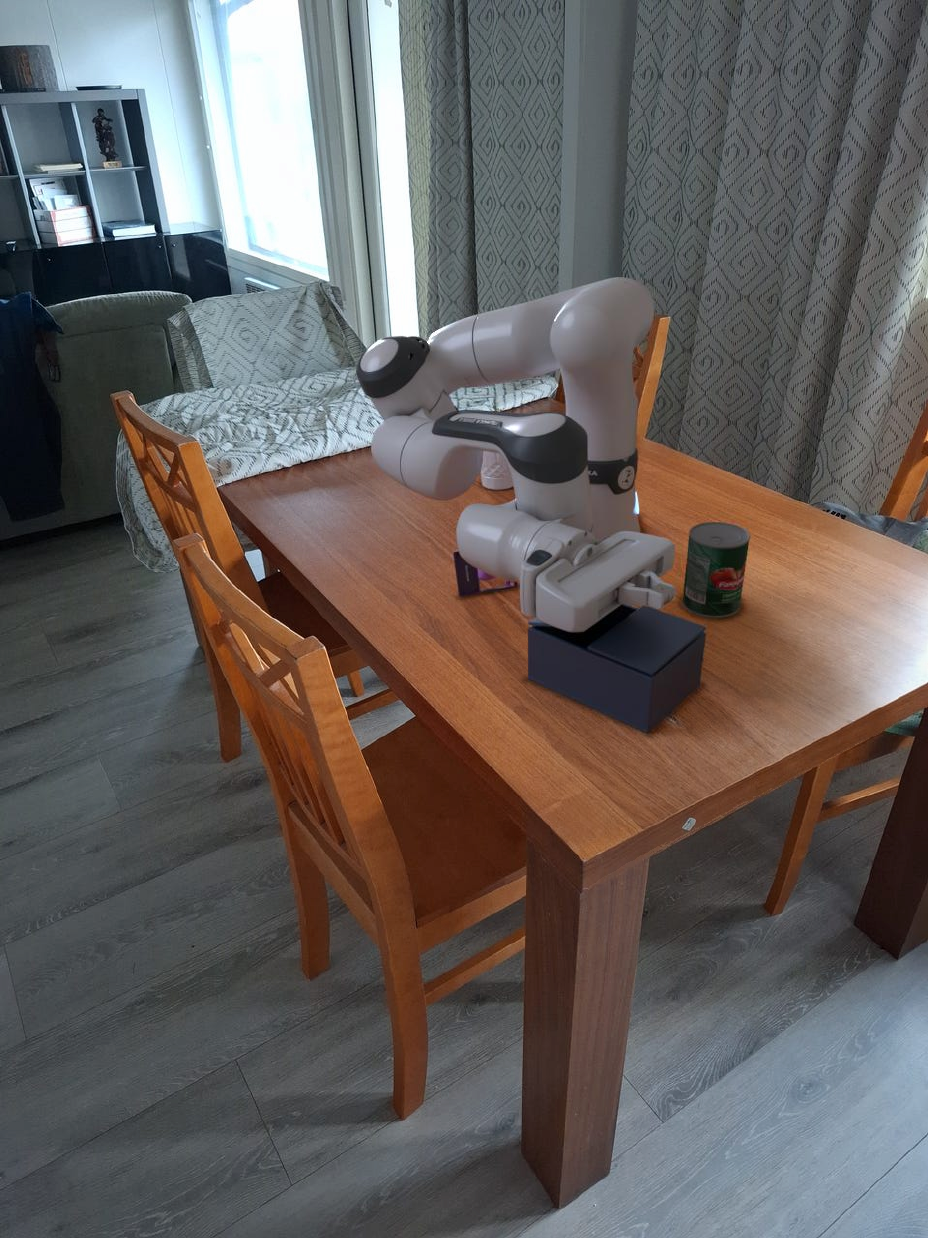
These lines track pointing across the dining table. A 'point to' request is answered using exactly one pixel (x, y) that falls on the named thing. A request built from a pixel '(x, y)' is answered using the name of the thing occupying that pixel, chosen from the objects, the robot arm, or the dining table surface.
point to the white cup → (495, 472)
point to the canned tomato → (715, 569)
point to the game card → (472, 578)
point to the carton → (622, 663)
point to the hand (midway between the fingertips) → (668, 598)
